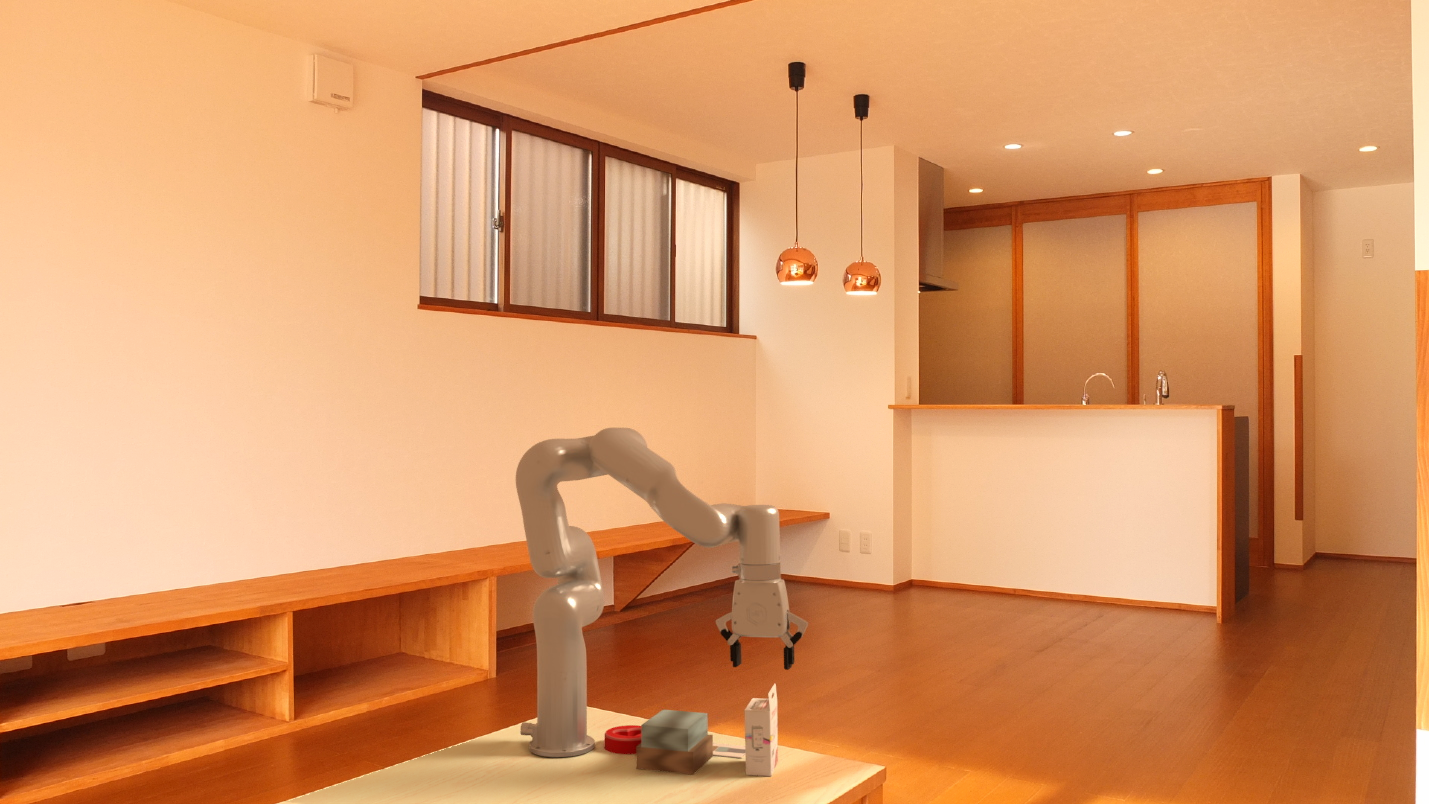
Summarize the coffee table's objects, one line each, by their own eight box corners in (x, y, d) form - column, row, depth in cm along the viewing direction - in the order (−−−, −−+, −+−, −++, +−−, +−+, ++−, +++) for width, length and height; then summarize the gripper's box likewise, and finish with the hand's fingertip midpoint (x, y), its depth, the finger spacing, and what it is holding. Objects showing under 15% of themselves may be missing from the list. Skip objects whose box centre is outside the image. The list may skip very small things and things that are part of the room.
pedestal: (636, 768, 189) (636, 724, 189) (658, 751, 199) (658, 709, 199) (693, 774, 185) (693, 729, 186) (712, 756, 196) (712, 713, 196)
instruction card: (691, 753, 198) (691, 752, 198) (703, 742, 204) (703, 741, 204) (741, 758, 194) (741, 756, 194) (751, 747, 201) (751, 746, 201)
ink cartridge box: (752, 760, 193) (751, 681, 194) (778, 762, 192) (777, 682, 193) (744, 775, 185) (743, 692, 185) (771, 777, 184) (771, 693, 184)
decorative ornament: (623, 759, 195) (623, 742, 195) (594, 747, 203) (594, 730, 203) (663, 748, 202) (663, 732, 202) (634, 737, 209) (634, 721, 209)
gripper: (708, 574, 189) (711, 669, 188) (801, 576, 183) (803, 674, 183) (721, 569, 196) (723, 660, 195) (810, 571, 190) (813, 664, 190)
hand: (762, 667), depth 189 cm, fingers open, 9 cm apart
